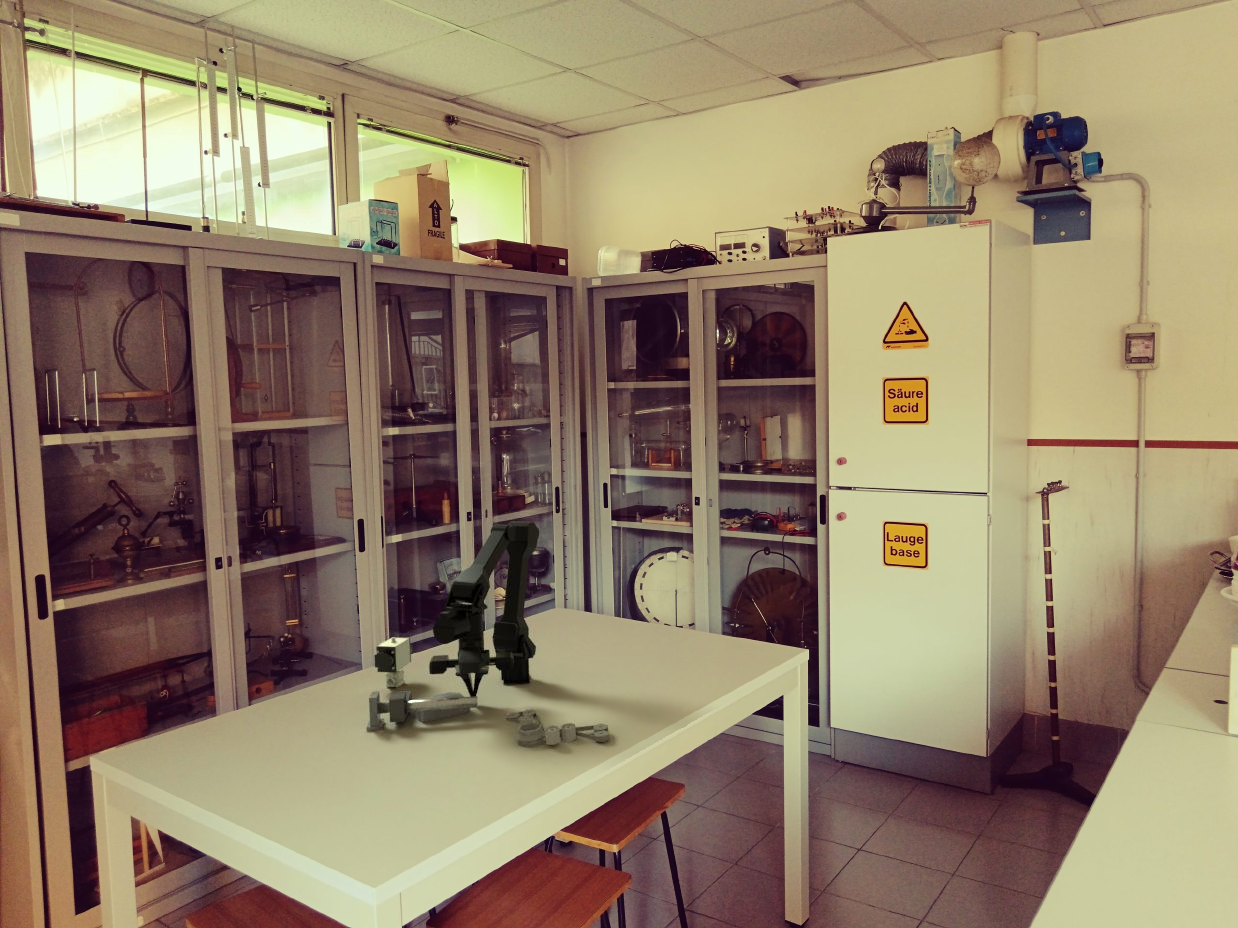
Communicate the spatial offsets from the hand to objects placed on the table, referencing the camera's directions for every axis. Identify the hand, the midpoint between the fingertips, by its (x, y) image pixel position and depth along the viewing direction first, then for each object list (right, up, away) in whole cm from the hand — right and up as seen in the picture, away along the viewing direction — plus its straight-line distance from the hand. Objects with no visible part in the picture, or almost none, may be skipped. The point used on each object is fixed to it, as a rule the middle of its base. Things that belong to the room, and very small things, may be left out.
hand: (473, 699), depth 206 cm
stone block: (-7, -2, -4) cm, 8 cm away
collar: (-15, -1, -7) cm, 16 cm away
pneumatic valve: (-22, -1, +15) cm, 27 cm away
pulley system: (+18, -3, -19) cm, 26 cm away
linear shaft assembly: (-9, -2, -11) cm, 14 cm away
